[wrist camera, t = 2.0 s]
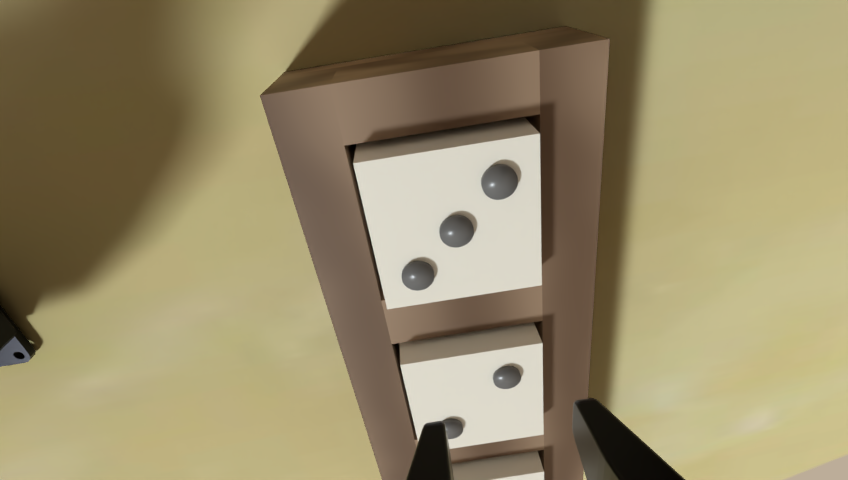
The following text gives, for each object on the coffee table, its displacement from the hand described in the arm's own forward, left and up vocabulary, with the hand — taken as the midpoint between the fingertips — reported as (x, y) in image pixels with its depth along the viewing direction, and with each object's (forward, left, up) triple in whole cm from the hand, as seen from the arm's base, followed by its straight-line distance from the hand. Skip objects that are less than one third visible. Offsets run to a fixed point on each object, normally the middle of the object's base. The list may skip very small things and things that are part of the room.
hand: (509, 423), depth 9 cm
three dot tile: (0, 0, -11) cm, 11 cm away
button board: (0, -9, -13) cm, 16 cm away
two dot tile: (0, -9, -11) cm, 14 cm away
